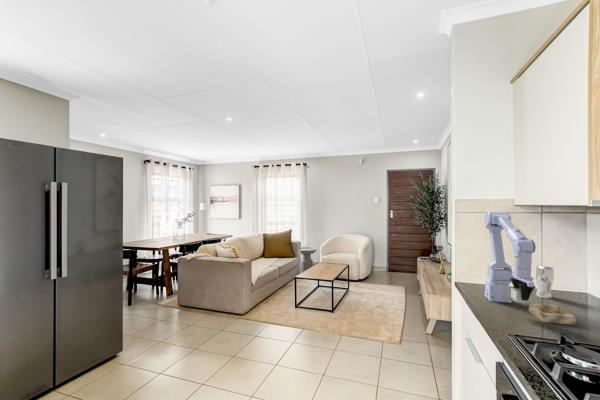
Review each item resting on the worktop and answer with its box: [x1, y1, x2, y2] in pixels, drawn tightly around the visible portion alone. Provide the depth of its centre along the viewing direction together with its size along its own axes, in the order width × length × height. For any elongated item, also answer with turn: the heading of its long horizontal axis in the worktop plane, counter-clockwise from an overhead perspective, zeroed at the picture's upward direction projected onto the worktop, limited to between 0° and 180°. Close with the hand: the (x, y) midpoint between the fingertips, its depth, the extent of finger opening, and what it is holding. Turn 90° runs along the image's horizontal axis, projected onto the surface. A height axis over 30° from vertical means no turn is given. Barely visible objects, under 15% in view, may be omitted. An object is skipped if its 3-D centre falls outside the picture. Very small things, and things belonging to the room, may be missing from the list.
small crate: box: [510, 287, 534, 304], centre depth 124 cm, size 6×5×4 cm
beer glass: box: [535, 265, 555, 299], centre depth 146 cm, size 7×7×15 cm
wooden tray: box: [528, 303, 577, 326], centre depth 123 cm, size 12×11×4 cm
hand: (521, 297), depth 124 cm, fingers closed on small crate, 5 cm apart
